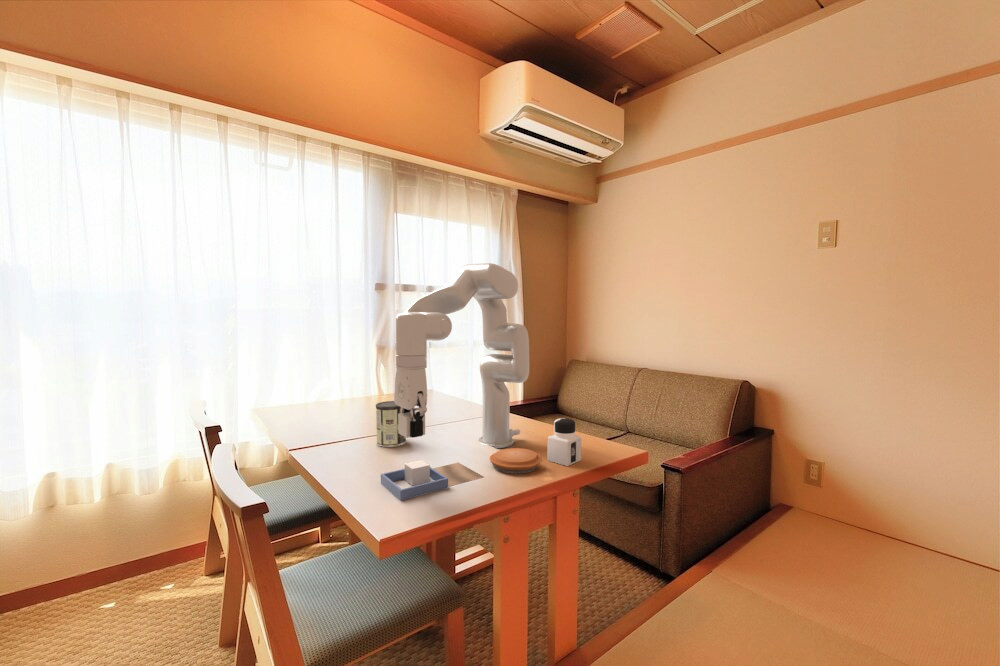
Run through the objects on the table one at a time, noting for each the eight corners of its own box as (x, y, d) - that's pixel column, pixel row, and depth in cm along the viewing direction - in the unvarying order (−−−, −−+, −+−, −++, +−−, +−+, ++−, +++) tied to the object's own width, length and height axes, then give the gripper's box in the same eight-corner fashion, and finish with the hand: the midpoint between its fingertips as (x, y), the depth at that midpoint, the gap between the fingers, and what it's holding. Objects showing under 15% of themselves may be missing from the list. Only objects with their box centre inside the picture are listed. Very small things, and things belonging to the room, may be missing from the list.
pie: (479, 468, 128) (479, 451, 127) (519, 457, 137) (519, 442, 137) (511, 484, 115) (511, 466, 115) (552, 471, 125) (553, 454, 124)
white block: (421, 477, 118) (421, 459, 118) (429, 483, 114) (429, 465, 114) (404, 481, 115) (404, 463, 115) (412, 487, 111) (412, 469, 111)
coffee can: (399, 437, 159) (399, 399, 158) (410, 444, 150) (410, 404, 150) (371, 442, 153) (371, 402, 152) (382, 449, 144) (381, 408, 144)
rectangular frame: (425, 476, 121) (425, 463, 120) (448, 492, 110) (448, 478, 110) (380, 487, 113) (380, 474, 113) (400, 505, 102) (400, 490, 102)
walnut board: (458, 466, 128) (458, 462, 128) (484, 481, 117) (484, 476, 117) (424, 474, 122) (424, 470, 122) (448, 490, 111) (449, 486, 111)
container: (581, 460, 134) (582, 419, 133) (567, 466, 128) (568, 424, 128) (561, 454, 139) (561, 415, 139) (546, 460, 134) (547, 419, 133)
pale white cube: (416, 430, 111) (416, 411, 111) (425, 434, 107) (425, 414, 107) (398, 433, 108) (398, 413, 108) (406, 437, 104) (406, 417, 104)
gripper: (384, 359, 112) (384, 428, 112) (412, 366, 98) (412, 444, 99) (410, 358, 116) (411, 424, 117) (441, 364, 102) (441, 439, 103)
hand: (411, 433), depth 108 cm, fingers closed on pale white cube, 5 cm apart
